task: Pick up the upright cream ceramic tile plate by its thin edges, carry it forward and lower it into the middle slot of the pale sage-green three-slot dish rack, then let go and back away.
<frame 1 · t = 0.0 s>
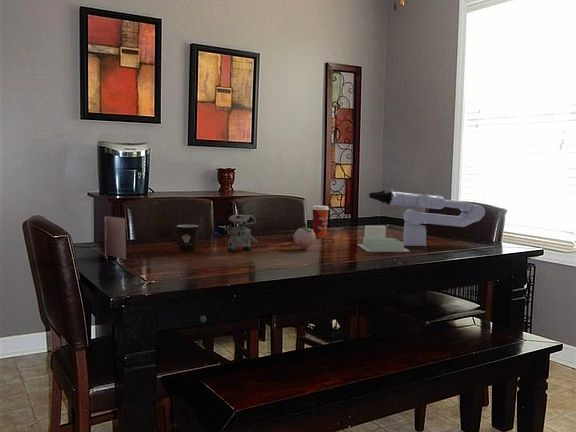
hand: (371, 195, 242), 22 cm above the table, tool horizontal, fingers open, 7 cm apart
dish rack: (382, 248, 235), on the table
coffee mug: (184, 250, 220), on the table
tile plate: (374, 243, 248), on the table
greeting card: (114, 258, 201), on the table
decorative fruit: (304, 249, 228), on the table
coffee cup: (319, 237, 264), on the table
figurine: (242, 252, 220), on the table
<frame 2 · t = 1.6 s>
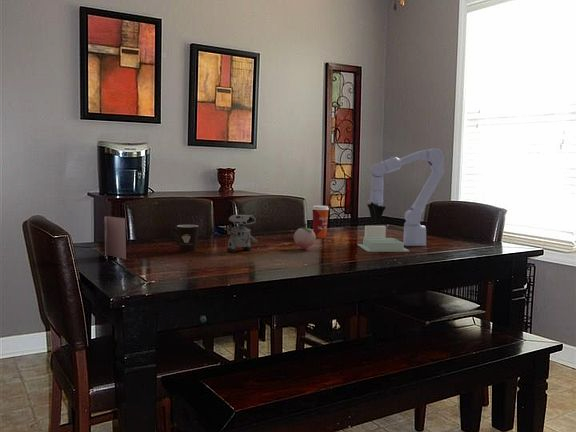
hand: (375, 220, 247), 10 cm above the table, tool pointing down, fingers open, 7 cm apart
nothing on the table moved.
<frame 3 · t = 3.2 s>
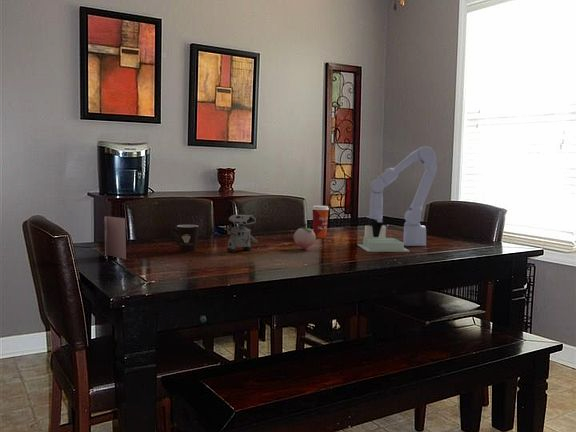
hand: (375, 236, 247), 3 cm above the table, tool pointing down, fingers closed on tile plate, 2 cm apart
tile plate: (374, 243, 248), on the table, touching gripper
everything else where it was.
when the fingers open (5 cm above the table, at t = 7.4 s): tile plate stays where it is, resting on dish rack.
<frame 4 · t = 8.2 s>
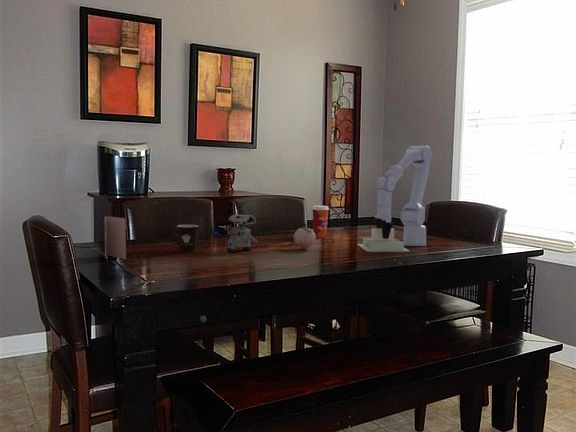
hand: (383, 237, 234), 5 cm above the table, tool pointing down, fingers open, 7 cm apart
tile plate: (382, 247, 235), resting on dish rack
everything else where it was.
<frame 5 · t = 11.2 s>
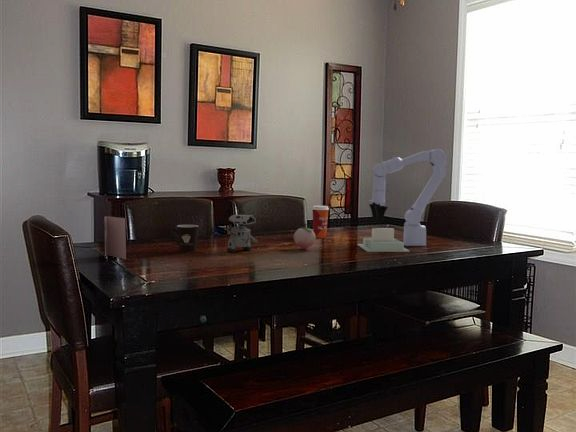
hand: (377, 220, 247), 10 cm above the table, tool pointing down, fingers open, 7 cm apart
nothing on the table moved.
at the end: tile plate 0.2 cm off-centre on the dish rack, point 0.5 cm above the dish rack's base; tile plate tilted 0°; the gripper is holding nothing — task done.
